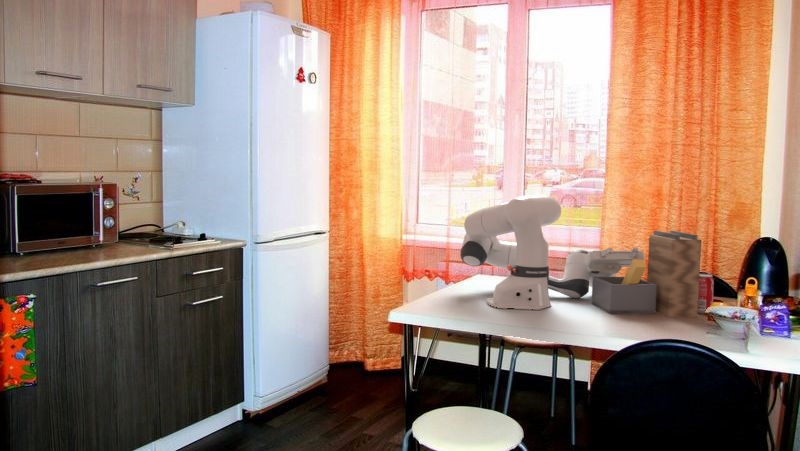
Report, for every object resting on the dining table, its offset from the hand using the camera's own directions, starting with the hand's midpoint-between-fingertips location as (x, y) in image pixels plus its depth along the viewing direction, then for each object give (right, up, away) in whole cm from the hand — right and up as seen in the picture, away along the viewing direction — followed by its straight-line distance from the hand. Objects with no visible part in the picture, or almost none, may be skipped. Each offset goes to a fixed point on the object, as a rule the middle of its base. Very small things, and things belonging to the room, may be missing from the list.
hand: (623, 249), depth 224 cm
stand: (+15, -21, -3) cm, 26 cm away
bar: (+1, -12, -6) cm, 14 cm away
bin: (0, -21, 0) cm, 21 cm away
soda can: (+26, -22, -2) cm, 34 cm away
